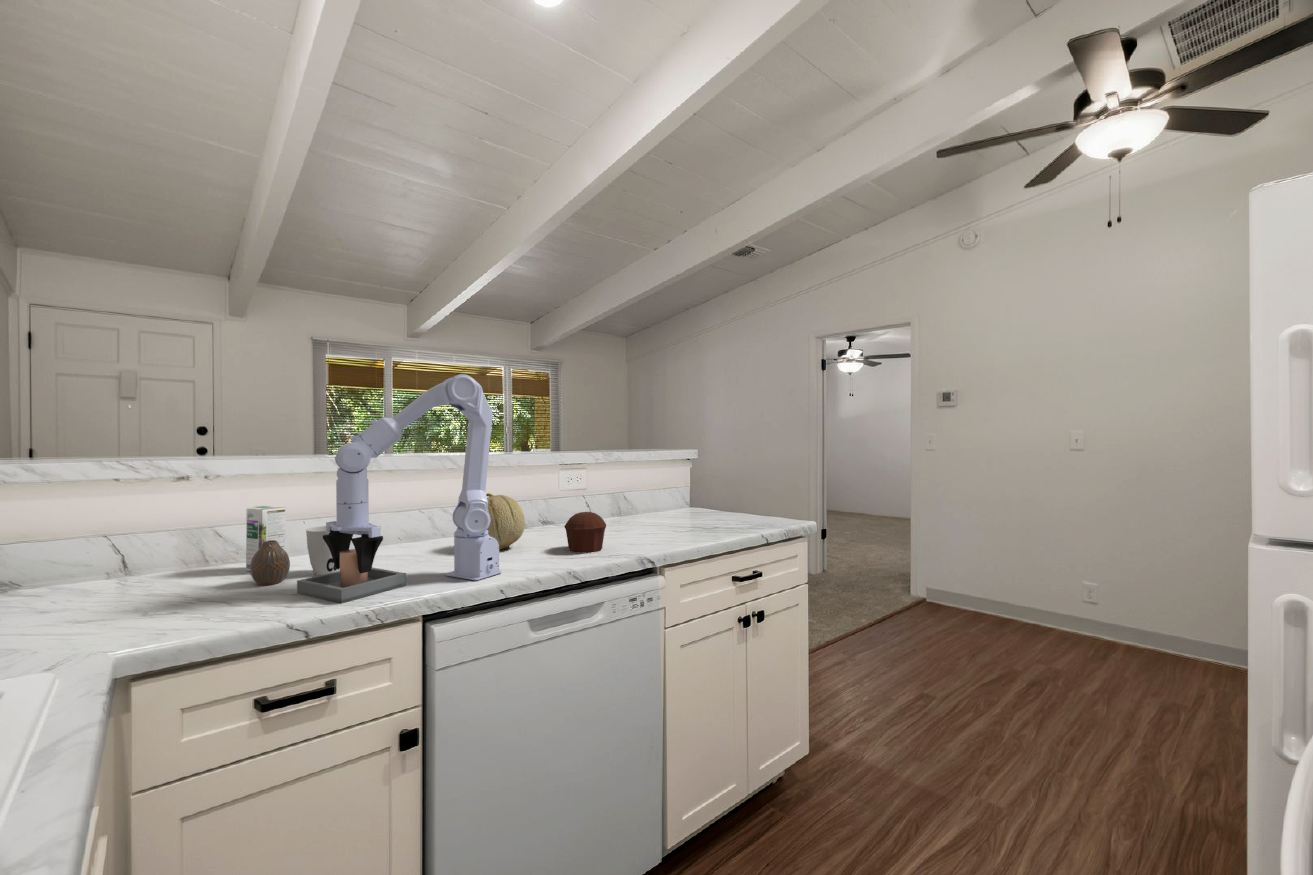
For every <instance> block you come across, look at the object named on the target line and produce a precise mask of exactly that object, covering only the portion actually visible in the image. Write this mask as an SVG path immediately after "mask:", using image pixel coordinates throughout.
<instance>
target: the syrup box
mask: <svg viewBox="0 0 1313 875" xmlns="http://www.w3.org/2000/svg"><path fill="white" fill-rule="evenodd" d="M286 510H287V507H286V506H273V505H259V506H258V505H256V506H251V507H247V508H246V516H245V517H246V521H245V522H246V525H245V526H246V528H245V529H246V534H245V537H246V542H245V544H246V545H245V546H246V547H245V555H246V556H245V571H246V572H250V564H251V561H252V558H253V556H254V555H255V553H256V552H257V551H258V550H259V549H260V547H261V546H262V544H263V542H264V541H270V540H276V541H277V542H278V544H279V545H280V546H281V547H282V548H283V549H284V550H285V551H286V548H287V546H286V544H287V542H286V539H287V537H286V536H287V535H286V533H287V531H286V526H287V525H286V524H287V523H286V521H287V520H286V519H287V517H286V516H287V511H286Z"/></svg>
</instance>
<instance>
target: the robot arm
mask: <svg viewBox="0 0 1313 875" xmlns="http://www.w3.org/2000/svg"><path fill="white" fill-rule="evenodd" d="M445 405H446V406H447V405H450V407H453V408H455V409H457V410H458V411H459V412H460V413H461V414H462V415H463V416H464V417H465V418H466V420H468V425H467V433H466V444H465V445H466V446H465V455H464V456H465V457H464V465H463V475H462V476H463V477H462V485H461V486H462V487H461V491H460V494H459V496H458V502H457V505H456V506H455V508H454V510H453V511H452V521H453V524H454V526H456V527H457V528H456V530H455V531H454V533H453V536H454V537H453V540H454V541H453V544H454V545H453V547H454V548H453V552H454V553H453V554H454V555H453V557H454V558H453V561H454V562H453V563H454V565H453V566H454V567H453V569H454V570H453V571H449V572H445V576H447V577H453V578H458V579H463V580H464V579H465V580H470V581H471V580H472V581H479V580H483V579H486V578H489V577H492V576H495V575H499V574H501V573H502V572H503V571H502V570H500V549H499V544H498V541H497V540H496V539H495V538H493V537H490V536H489V534H488V530H487V529H488V527H489V525H490V521H491V519H490V515H489V512H488V500H487V498H488V496H486V495H487V493H486V489H487V477H488V470H489V468H488V467H489V457H490V446H491V445H490V444H491V436H492V424H493V410H492V408H491V406H490V404H489V401H488V400H487V398H486V396H485V393H484V391H483V387H482V386H481V384H480V383H479V382H478V381H476V379H474V378H473V377H472V376H470V375H468V374H464V373H463V374H461V373H459V374H457V375H455V376H453V377H449V378H447V379H445V380H443V382H441V383H438V384H436V385H434V386H433V387H431V388H429V389H427V390H426V391H424V392H423V393H422V394H420V396H418V397H417V398H415V399H414V400H413V401H411V402H410V403H409V404H408V405H407V406H405V407H404V408H403V409H401V410H400V411H399V412H398V413H396V414H395V415H393V417H391V418H390V417H380V418H379V419H376V418H374V419H372V420H371V421H370V422H369V426H367V428H365V429H364V430H363V431H361V432H360V433H359V434H357V435H355V434H353V435H352V436H351V437H350V438H349V439H350V440H351V441H352V442H348V443H345V444H343V445H342V446H340V447H339V448H338V449H337V451H336V454H335V457H334V460H335V464H336V465H337V466H338V467H337V471H336V477H337V479H336V482H335V484H336V486H335V487H336V489H335V490H336V493H335V494H336V511H335V512H336V520H334V521H328V522H325V526H326V532H330V533H329V534H327V535H323V540H324V541H325V542H326V544H327V546H328V547H329V550H330V552H331V555H332V558H333V562H334V565H335V568H336V569H339V568H340V552H341V551H344V550H350V547H351V543H352V544H353V548H354V549H355V550H356V554H357V561H358V570H359V573H365V572H370V571H371V568H372V567H373V565H374V560H375V557H376V554H377V551H378V549H379V548H380V545H381V544H382V542H383V540H384V536H383V535H382V534H381V533H382V531H381V528H382V527H381V526H379V525H375V524H373V523H371V522H369V516H370V515H369V508H370V507H369V503H370V502H369V479H368V467H369V465H370V463H371V459H373V458H374V459H377V458H378V457H379V456H380V455H382V454H383V453H384V452H385V451H387V450H388V449H389V448H391V447H392V446H393V445H394V444H396V443H398V442H399V441H400V440H401V439H402V436H403V434H402V433H403V430H404V429H405V428H406V427H407V426H410V424H412V423H413V422H415V421H416V420H418V419H419V418H420V417H422V416H424V415H425V414H426V413H428V412H429V411H431V410H432V409H433V408H435V407H440V406H445ZM354 535H355V536H356V535H357V536H360V537H354Z"/></svg>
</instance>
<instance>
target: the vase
mask: <svg viewBox="0 0 1313 875" xmlns="http://www.w3.org/2000/svg"><path fill="white" fill-rule="evenodd" d="M290 566H291V560H290V558H289V554H288V552H286V551H285V550H284V549H283V548H282V547H281V546H280V545H279V544H278V542H277V541H276V540H270V541H264V542H263V544H262V546H261V547H260V549H259V550H258V551H257V552H256V553H255V555H254V556H253V558H252V561H251V564H250V571H249V572H250V576H251V578H252V580H254V582H255V583H256V584H258V585H259V586H270V585H277V584H281V583H282V582H283V581H284V580H285V579H286V578H287V576H288V574H289V572H290V568H291V567H290Z"/></svg>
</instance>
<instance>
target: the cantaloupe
mask: <svg viewBox="0 0 1313 875" xmlns="http://www.w3.org/2000/svg"><path fill="white" fill-rule="evenodd" d="M486 497H487V500H488V512H489V515H490V519H491V521H490V525H489V527H488V529H487V530H488V534H489V536H490V537H493V538H495V539H496V540H497V541H498V544H499V550H504V549H505V548H507V547H509V546H511V545H513V544H515V542H517V541H518V540H519V539H520V538H521V537H522V535H523V534H524V530H525V527H526V518H525V514H524V511H523V509H522V507H521V505H520V504H519V503H518V502H517V501H516V500H515V499H514V498H512V497H509V496H507V495H503V494H501V495H500V494H497V495H494V494H492V493H489V492H488V493H486Z"/></svg>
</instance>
